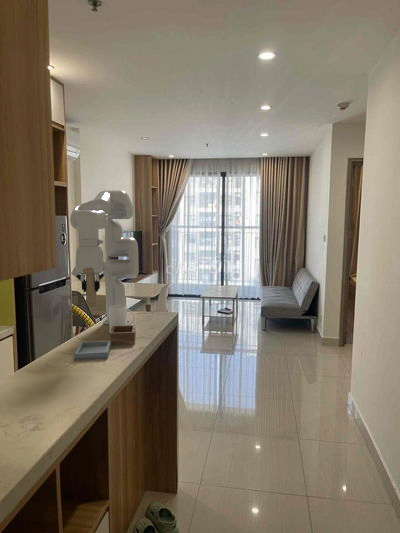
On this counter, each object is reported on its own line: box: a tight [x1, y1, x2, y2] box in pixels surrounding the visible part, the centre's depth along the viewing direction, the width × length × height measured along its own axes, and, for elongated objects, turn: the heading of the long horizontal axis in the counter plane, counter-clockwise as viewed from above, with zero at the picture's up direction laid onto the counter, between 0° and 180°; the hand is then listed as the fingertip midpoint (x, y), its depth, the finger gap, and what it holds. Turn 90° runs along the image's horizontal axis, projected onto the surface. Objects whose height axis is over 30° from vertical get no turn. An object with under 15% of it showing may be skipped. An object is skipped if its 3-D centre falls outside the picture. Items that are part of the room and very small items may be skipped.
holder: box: [109, 324, 137, 346], centre depth 167 cm, size 11×10×5 cm
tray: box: [73, 340, 112, 361], centre depth 152 cm, size 14×12×2 cm
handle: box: [83, 269, 97, 309], centre depth 149 cm, size 5×6×15 cm
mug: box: [108, 304, 135, 334], centre depth 179 cm, size 12×8×12 cm
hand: (91, 290), depth 149 cm, fingers closed on handle, 3 cm apart
